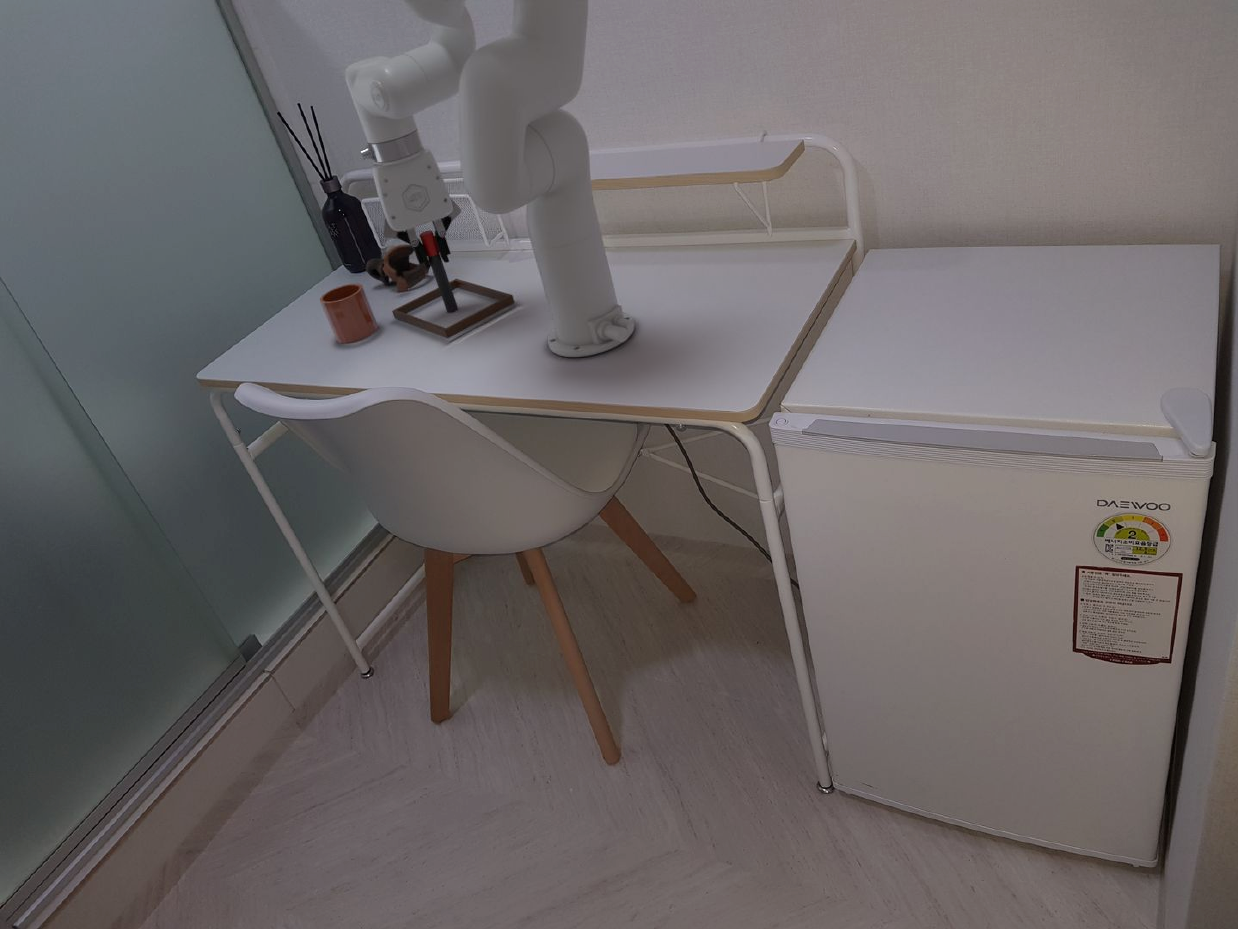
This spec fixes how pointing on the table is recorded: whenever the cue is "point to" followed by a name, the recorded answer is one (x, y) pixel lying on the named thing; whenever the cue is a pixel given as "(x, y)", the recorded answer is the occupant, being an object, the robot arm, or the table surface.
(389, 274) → the pottery mug
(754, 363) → the table surface
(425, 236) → the marker
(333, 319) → the pen cup
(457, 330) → the tray
